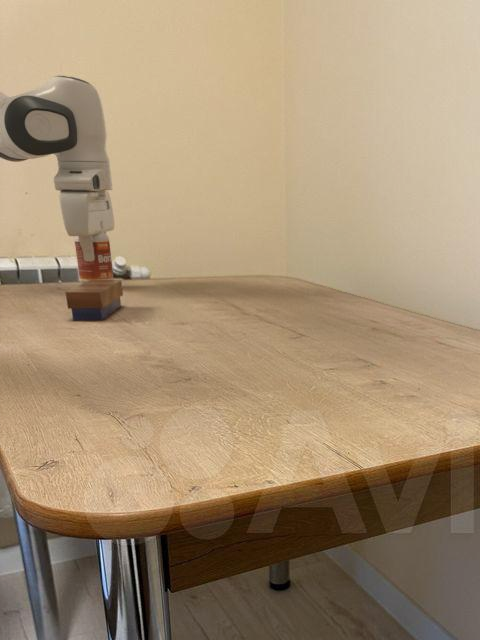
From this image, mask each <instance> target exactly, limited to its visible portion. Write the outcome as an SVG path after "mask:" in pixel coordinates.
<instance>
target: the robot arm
mask: <svg viewBox="0 0 480 640" xmlns="http://www.w3.org/2000/svg"><path fill="white" fill-rule="evenodd" d="M107 139H108V138H107V129H106V121H105V114H104V109H103V105H102V99H101V97H100V94H99V92H98V90H97V89H96V87H95V86H94V85H92V84H91V83H90V82H88V81H86V80H83V79H81V78H77V77H73V76H67V75H54V76H52V77H51V78H50V79H49V80H48V81H47V82H46V83H44V84H42V85H41V86H39V87H37V88H34V89H32V90H30V91H26V92H23V93H20V94H17V95H12V96H9V95H7V94H4V92H2V91H0V159H2V160H5V161H9V162H12V163H13V162H14V163H19V162H24V161H27V160H31V159H32V160H33V159H38V158H39V159H40V158H45V157H48V156H51V155H55V157H56V159H57V167H58V170H57V173H56V174H55V175H54V177H53V185H54V189H55V190H56V191H59V195H58V199H59V205H60V211H61V215H62V220H63V226H64V229H65V231H66V233H67V236H69V237H75V236H79V242H80V245H81V247H82V250H83V254H84V259H85V261H94V260H96V253H95V251H94V248H93V243H92V241H93V236H92V235H94V234H99V233H101V232H102V231H103V233H105V234H107V233H108V232H111V231H114V230H115V218H114V211H113V205H112V199H111V195H110V192H109V191H112V190H113V181H112V172H111V163H110V158H109V156H108V153H107V147H106V146H107V145H106V144H107ZM100 221H103V229H101V226H100Z"/></svg>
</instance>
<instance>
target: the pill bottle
mask: <svg viewBox="0 0 480 640" xmlns="http://www.w3.org/2000/svg"><path fill="white" fill-rule="evenodd" d="M100 226H101V229H103V221H100ZM92 236H93V241H92V243H93V248H94V251H95V253H96V260H94V261H85V259H84V254H83V250H82V247H81V245H80V242H79V236H74V246H75V254H76V262H77V269H78V277H79V282H81V283H82V284H83V283H85V282H87V281H89V280H114V270H113V269H114V268H113V259H112V253H111V244H110V243H111V242H110V238H109V236H108V234H107V233H106V234H105V233H103V231H102V232H101V233H99V234H94V235H92Z"/></svg>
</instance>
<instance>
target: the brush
mask: <svg viewBox="0 0 480 640" xmlns="http://www.w3.org/2000/svg"><path fill="white" fill-rule="evenodd" d="M122 283H123V282H122V280H121V279H113V280H89V281H87V282H85V283H83V282H82V283H81V284H79V285H77V286H75V287H73V288H71V289H69V290H67V291H65V297H66V298H65V299H66V304H67V309H69V310H70V309H71V314H72V315H71V316H72V321H103V320H105V319H106V318H108V317H109V316H110V315H111V314H113V313H114V312H116V311H117V310H119V308H121V307H122V302H121V297H123V295H124V294H123V293H124V292H123V285H122Z"/></svg>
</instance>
